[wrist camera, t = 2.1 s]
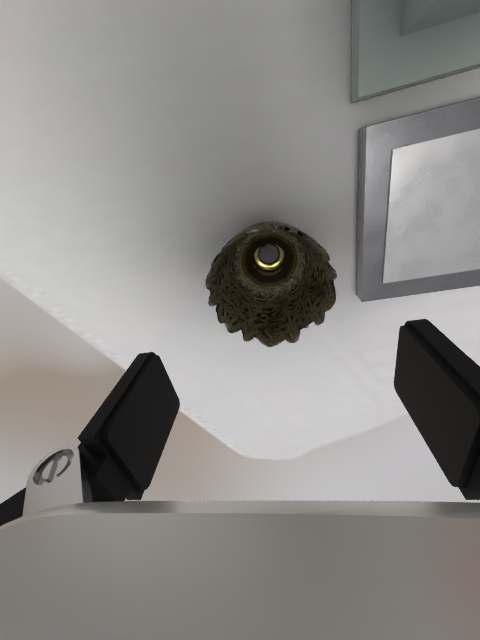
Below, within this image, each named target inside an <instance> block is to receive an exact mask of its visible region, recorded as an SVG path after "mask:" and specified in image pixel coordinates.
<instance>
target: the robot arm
mask: <svg viewBox="0 0 480 640" xmlns="http://www.w3.org/2000/svg"><path fill="white" fill-rule="evenodd" d="M394 387H395V390H396V392H397V394H398V396H399V398H400V399H401V401H402V403H403V404H404V406H405V408H406V410H407V411H408V413H409V415H410V416H411V418H412V420H413V421H414V423H415V425H416V426H417V428H418V430H419V432H420V433H421V435H422V436H423V438H424V440H425V442H426V444H427V445H428V447H429V449H430V450H431V452H432V454H433V455H434V457H435V459H436V460H437V462H438V464H439V466H440V467H441V469H442V471H443V472H444V474H445V476H446V477H447V479H448V481H449V482H450V484H451V485H452V486H454V487H459V489H460V491H461V492H462V494H463V496H464V497H465V499H466V500H480V366H478V365H477V364H476V363H475V362H474V361H473V360H472V359H471V358H469V357H468V356H467V355H466V354H465V353H464V352H463V351H461V350H460V349H459V348H458V347H457V346H456V345H455V344H454V343H453V342H452V341H450V340H449V339H448V338H447V337H446V336H445V335H444V334H443V333H442V332H441V331H439V330H438V329H437V328H436V327H435V326H434V325H433V324H432V323H431V322H430V321H428V320H427V319H421V320H413V321H407V322H406V323H405V326H401V327H400V330H399V339H398V349H397V358H396V368H395V377H394ZM179 406H180V402H179V398H178V396H177V394H176V392H175V390H174V387H173V385H172V383H171V381H170V379H169V376H168V374H167V372H166V370H165V368H164V365H163V363H162V361H161V359H160V357H159V356H158V355H156V354H155V353H153V352H149V353H141V354H139V355H137V357H136V358H135V360H134V361H133V362H132V364H131V365H130V366H129V368H128V369H127V371H126V372H125V373H124V375H123V376H122V377H121V379H120V380H119V382H118V383H117V384H116V386H115V387H114V389H113V390H112V391H111V393H110V394H109V395H108V397H107V398H106V399H105V401H104V402H103V404H102V405H101V407H100V408H99V409H98V411H97V412H96V413H95V415H94V416H93V417H92V419H91V420H90V422H89V423H88V424H87V426H86V427H85V429H84V430H83V431H82V433H81V434H80V435H79V437H78V439H79V440H80V442H81V443H80V445H79V446H78V447H76V446H75V445H65V446H61V447H59V448H57V449H55V450H54V451H52V452H50V453H49V454H47V455H46V456H45V457H44V458H43V459H42V460H40V461H39V463H38V464H37V465H36V466H35V467H34V468H33V470H32V472H31V473H30V475H29V477H28V481H27V486H26V488H24V489H23V490H21V491H19V492H18V493H16V494H15V495H13V496H12V497H10V498H9V499H7V500H6V501H4V502H3V503H1V504H0V640H480V503H463V502H421V501H420V502H419V501H124V500H125V498H126V499H127V500H141V498H142V495H143V493H144V490H146V489H147V488H148V487H149V485H150V483H151V480H152V478H153V475H154V473H155V470H156V467H157V465H158V462H159V460H160V457H161V454H162V452H163V449H164V446H165V444H166V441H167V439H168V436H169V433H170V430H171V428H172V426H173V423H174V420H175V418H176V415H177V413H178V410H179Z"/></svg>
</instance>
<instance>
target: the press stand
mask: <svg viewBox="0 0 480 640" xmlns="http://www.w3.org/2000/svg"><path fill="white" fill-rule="evenodd" d="M478 67H480V0H351V103H353V102H357V101H360V100H364V99H367V98H371V97H375V96H378V95H382V94H385V93H389V92H392V91H396V90H400V89H403V88H407V87H410V86H414V85H417V84H421V83H425V82H428V81H432V80H435V79H439V78H442V77H446V76H450V75H453V74H457V73H460V72H464V71H467V70H471V69H475V68H478Z"/></svg>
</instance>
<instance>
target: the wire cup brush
mask: <svg viewBox="0 0 480 640" xmlns="http://www.w3.org/2000/svg"><path fill="white" fill-rule="evenodd" d="M268 244H271V245H274V246H275V247H276V248H277V249H278V251H279V256H278V259H277V260H276V261H275V262H273V263H270V264H267V263H264V262H263V261H262V260H261V259H260V256H259V252H260V250H261V248H262V247H263V246H265V245H268ZM329 260H330V258H329V255H328V253H327V252H326V250H325V249H324V248H323V247H322V246H320V244H319V243H317V242H316V241H315V240H314V239H312V238H311V237H309V236H308V235H306V234H305V233H303V232H302V231H300V230H299V229H297V228H295V227H293V226H291V225H288V224H285V223H280V222H263V223H259V224H255V225H253V226H250V227H248V228H247V229H245V230H243V231H242V232H240V233H239V234H238V235H236V236H235V237H233V238H232V239H231V241H229V242H228V243H227V244H226V245H225V246H224V247H223V249H222V250H221V252H220V253H219V254H218V255H217V256H216V258H215V259H214V260H213V262H212V264H211V267H212V268H211V270H210V272H209V274H208V276H207V278H206V287H207V289H209V290H210V293H211V294H210V296H209V301H208V304H209V305H210V306H214V305H217V307H216V312H217V317H218V321H219V322H220V323H221V324H222V323H225V326H226V328H227V330H228V332H229V333H235V332H238V331H239V330H240V329H241V330H242V333H243V339H244V341H250V340H252V339H253V338H254V337H255V338H257V339H258V340H259V341H260V342H261V343H262V344H264V345H265V346H268V347H272V346H275V345H277V344H279V343H281V342H282V341H284V340H285V339H286V341H287V342H289V343H295V342H296V341H297V340H298V339H299V336H300V330H301V329H303V328H307V327H308V326H309V324H310V323H312V322H314V323H315V325H320V324H322V323H323V321H324V319H325V312H326V311H328V310H330V309H331V308H332V306H333V305H334V303H335V300H336V292H335V287H334V282H333V281H334V280H333V279H335V278H336V277H337V274H336V271H335V270H334V269H333V268H332V266H331V265H330V264H329V262H328V261H329ZM252 337H253V338H252Z"/></svg>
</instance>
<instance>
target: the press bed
mask: <svg viewBox="0 0 480 640" xmlns="http://www.w3.org/2000/svg"><path fill="white" fill-rule="evenodd" d="M473 286H480V97H479V98H475V99H472V100H468V101H464V102H460V103H456V104H452V105H449V106H445V107H441V108H437V109H433V110H429V111H426V112H422V113H418V114H414V115H410V116H406V117H402V118H399V119H395V120H391V121H387V122H383V123H379V124H376V125H372V126H368V127H365V128H362V129H360V130H359V157H358V216H357V275H356V295H357V296H358V298H359V299H360V300H361V302H365V301H372V300H379V299H386V298H393V297H401V296H408V295H415V294H422V293H429V292H437V291H444V290H451V289H458V288H465V287H473Z"/></svg>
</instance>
